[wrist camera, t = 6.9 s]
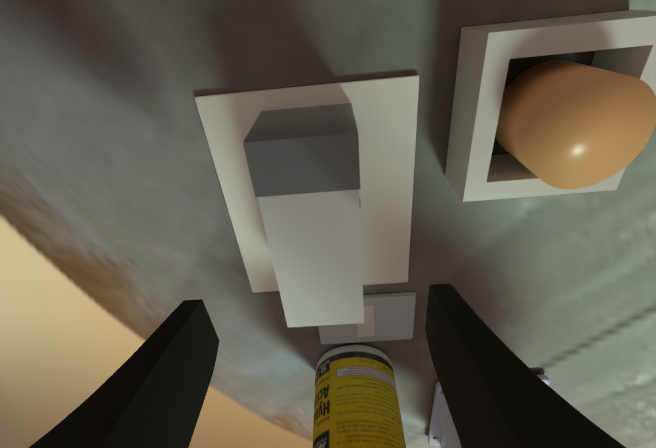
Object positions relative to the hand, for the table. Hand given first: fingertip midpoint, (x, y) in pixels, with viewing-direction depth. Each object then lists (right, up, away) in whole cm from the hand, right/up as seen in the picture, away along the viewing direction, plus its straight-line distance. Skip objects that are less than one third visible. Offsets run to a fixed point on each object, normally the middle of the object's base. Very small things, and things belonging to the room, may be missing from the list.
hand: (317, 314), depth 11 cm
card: (+3, -3, +10) cm, 11 cm away
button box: (+8, +8, +3) cm, 12 cm away
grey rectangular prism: (0, +4, +5) cm, 7 cm away
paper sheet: (0, +4, +6) cm, 7 cm away
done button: (+8, +7, +2) cm, 11 cm away
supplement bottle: (+2, -7, +13) cm, 15 cm away
